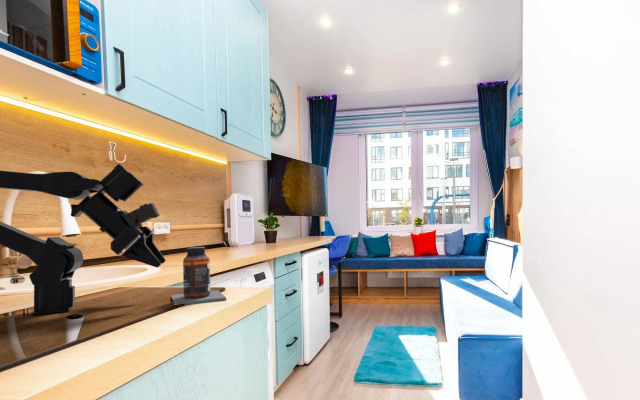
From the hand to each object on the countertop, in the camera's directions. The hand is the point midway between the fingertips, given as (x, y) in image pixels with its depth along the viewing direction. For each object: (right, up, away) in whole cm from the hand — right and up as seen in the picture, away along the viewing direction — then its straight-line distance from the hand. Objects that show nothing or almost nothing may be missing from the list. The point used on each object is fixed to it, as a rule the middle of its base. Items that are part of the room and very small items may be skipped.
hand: (162, 263), depth 89 cm
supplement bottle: (+7, -8, +2) cm, 11 cm away
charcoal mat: (+8, -8, +2) cm, 12 cm away
